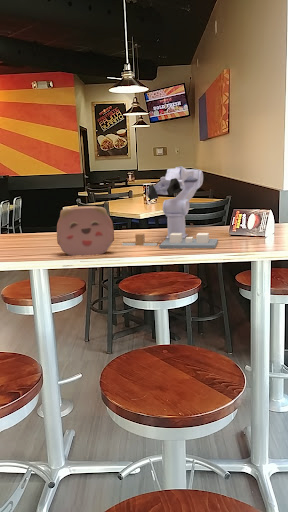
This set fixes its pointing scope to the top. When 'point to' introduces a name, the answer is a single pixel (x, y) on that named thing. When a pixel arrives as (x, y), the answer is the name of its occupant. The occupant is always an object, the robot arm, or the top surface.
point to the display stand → (189, 241)
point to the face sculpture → (84, 230)
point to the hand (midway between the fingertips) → (158, 195)
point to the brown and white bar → (140, 241)
